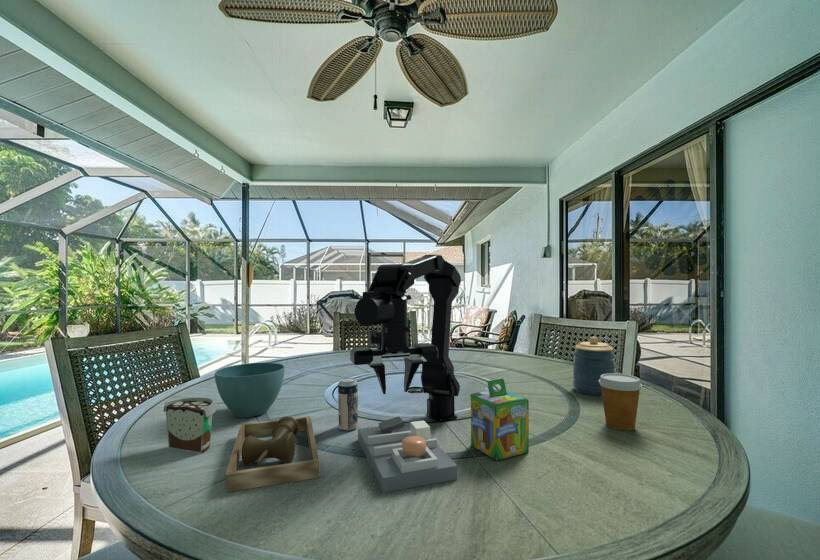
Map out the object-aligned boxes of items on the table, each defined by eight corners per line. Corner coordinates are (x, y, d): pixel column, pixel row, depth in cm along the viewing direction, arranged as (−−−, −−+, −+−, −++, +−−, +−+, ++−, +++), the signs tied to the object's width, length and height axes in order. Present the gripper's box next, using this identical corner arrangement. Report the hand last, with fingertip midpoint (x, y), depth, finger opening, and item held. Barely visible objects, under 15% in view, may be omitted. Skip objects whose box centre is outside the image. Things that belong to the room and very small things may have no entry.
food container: (228, 443, 90) (228, 399, 90) (206, 454, 84) (206, 407, 84) (187, 436, 94) (187, 394, 94) (163, 447, 88) (163, 402, 88)
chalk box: (496, 462, 79) (495, 388, 79) (469, 445, 87) (468, 378, 87) (531, 452, 84) (530, 382, 84) (501, 437, 92) (501, 373, 92)
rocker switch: (399, 420, 92) (398, 416, 92) (404, 426, 88) (403, 421, 88) (379, 427, 91) (378, 423, 91) (383, 433, 87) (382, 429, 87)
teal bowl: (199, 419, 106) (199, 373, 106) (250, 399, 123) (249, 360, 123) (252, 427, 99) (251, 379, 99) (298, 406, 116) (297, 364, 116)
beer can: (354, 432, 96) (353, 382, 96) (335, 431, 97) (335, 381, 97) (360, 425, 100) (360, 377, 100) (342, 424, 101) (342, 377, 101)
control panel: (415, 432, 96) (415, 415, 96) (457, 479, 73) (457, 457, 73) (358, 439, 91) (358, 422, 91) (383, 492, 68) (383, 469, 68)
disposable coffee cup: (646, 425, 98) (646, 376, 98) (636, 436, 91) (636, 384, 91) (605, 416, 105) (605, 371, 105) (593, 426, 98) (592, 377, 98)
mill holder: (310, 428, 99) (310, 416, 99) (319, 477, 74) (319, 461, 74) (240, 436, 94) (240, 423, 94) (225, 492, 69) (225, 475, 69)
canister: (565, 386, 135) (564, 334, 135) (601, 384, 136) (600, 333, 136) (586, 397, 122) (585, 340, 122) (625, 395, 123) (625, 339, 123)
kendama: (309, 438, 94) (283, 477, 74) (268, 440, 94) (231, 480, 74) (308, 412, 94) (282, 445, 74) (267, 414, 94) (231, 447, 74)
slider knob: (423, 436, 86) (423, 420, 86) (430, 443, 82) (430, 426, 82) (410, 438, 85) (410, 422, 85) (416, 445, 81) (416, 428, 81)
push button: (421, 445, 77) (421, 434, 77) (429, 454, 73) (429, 443, 73) (399, 448, 76) (399, 437, 76) (406, 457, 72) (406, 446, 72)
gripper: (422, 316, 97) (422, 380, 97) (345, 319, 92) (346, 387, 92) (439, 321, 87) (439, 392, 87) (354, 324, 81) (355, 401, 81)
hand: (395, 392), depth 87 cm, fingers open, 5 cm apart
